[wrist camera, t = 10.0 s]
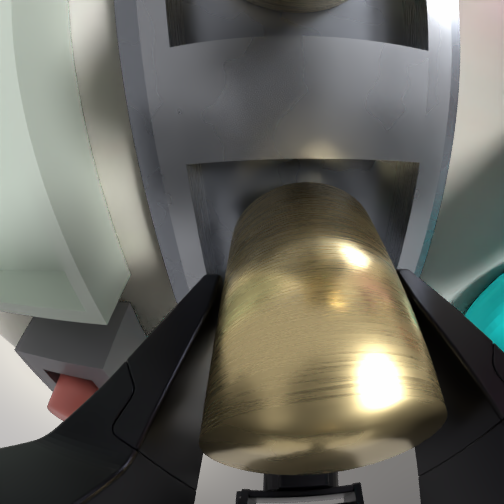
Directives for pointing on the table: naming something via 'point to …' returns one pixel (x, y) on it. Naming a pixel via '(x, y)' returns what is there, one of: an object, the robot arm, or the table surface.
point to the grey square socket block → (80, 346)
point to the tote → (50, 177)
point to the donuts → (490, 312)
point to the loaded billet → (297, 5)
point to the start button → (70, 395)
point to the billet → (315, 343)
